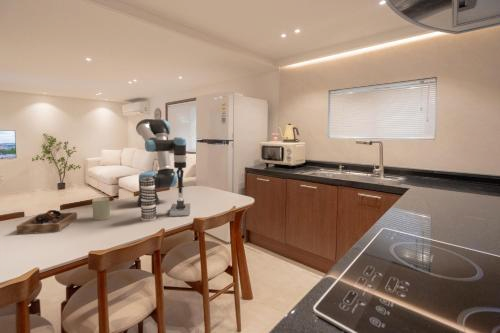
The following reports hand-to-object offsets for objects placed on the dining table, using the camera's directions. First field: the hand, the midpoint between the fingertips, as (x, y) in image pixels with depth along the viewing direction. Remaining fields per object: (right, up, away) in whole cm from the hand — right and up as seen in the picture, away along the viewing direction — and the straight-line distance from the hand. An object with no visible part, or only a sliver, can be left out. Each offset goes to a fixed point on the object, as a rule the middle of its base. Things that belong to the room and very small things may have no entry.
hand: (180, 197), depth 172 cm
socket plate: (0, -10, 0) cm, 10 cm away
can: (-44, -11, -13) cm, 47 cm away
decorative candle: (-16, -11, -13) cm, 23 cm away
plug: (0, -10, 0) cm, 10 cm away
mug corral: (-65, -12, -27) cm, 71 cm away
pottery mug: (-68, -12, -24) cm, 73 cm away
